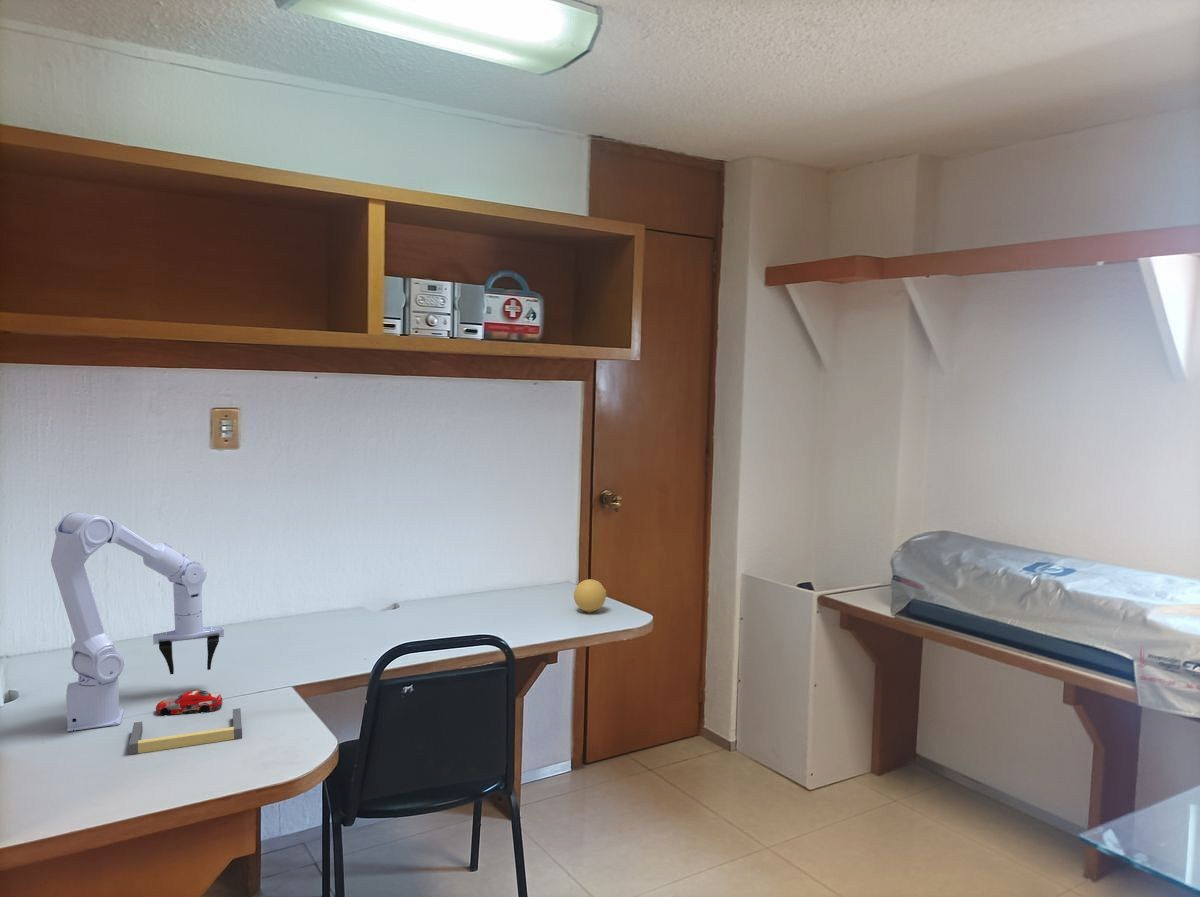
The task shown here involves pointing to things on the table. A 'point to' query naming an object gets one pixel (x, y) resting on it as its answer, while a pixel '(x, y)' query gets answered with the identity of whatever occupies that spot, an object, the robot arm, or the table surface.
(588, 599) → the stress ball
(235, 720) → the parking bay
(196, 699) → the race car
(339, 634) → the table surface
